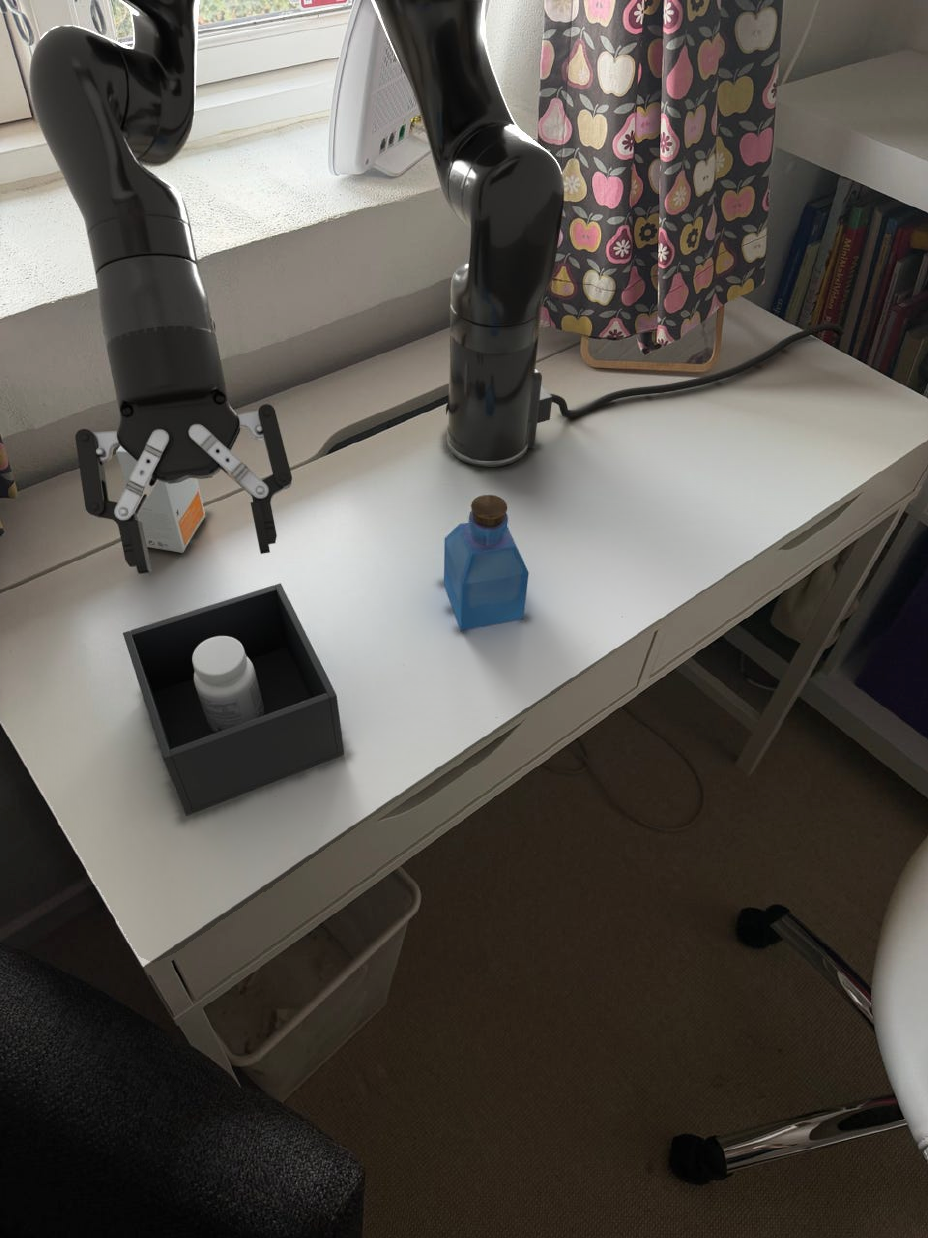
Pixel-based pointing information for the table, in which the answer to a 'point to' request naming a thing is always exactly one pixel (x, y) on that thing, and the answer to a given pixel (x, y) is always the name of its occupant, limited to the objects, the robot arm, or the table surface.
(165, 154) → the robot arm
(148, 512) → the cosmetic box
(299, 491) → the table surface
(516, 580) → the perfume bottle
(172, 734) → the open box
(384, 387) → the table surface
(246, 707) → the pill bottle
